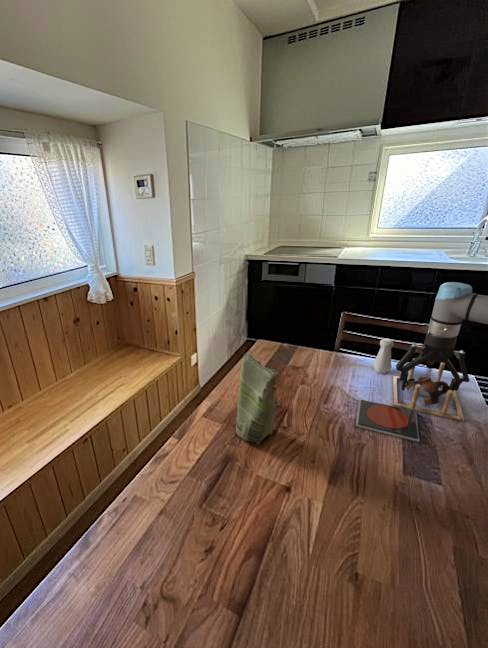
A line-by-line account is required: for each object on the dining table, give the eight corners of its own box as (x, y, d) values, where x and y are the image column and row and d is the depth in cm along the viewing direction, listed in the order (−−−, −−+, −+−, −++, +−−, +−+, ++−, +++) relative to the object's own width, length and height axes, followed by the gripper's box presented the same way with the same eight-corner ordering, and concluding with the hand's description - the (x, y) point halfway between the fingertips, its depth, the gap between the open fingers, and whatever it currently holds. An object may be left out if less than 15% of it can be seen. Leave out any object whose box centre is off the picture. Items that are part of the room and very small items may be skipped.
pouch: (239, 418, 107) (239, 348, 97) (277, 424, 103) (282, 352, 93) (231, 441, 98) (231, 367, 87) (273, 449, 94) (278, 372, 83)
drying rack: (453, 388, 115) (461, 365, 111) (463, 421, 100) (472, 396, 96) (393, 377, 123) (398, 355, 119) (393, 406, 108) (399, 382, 104)
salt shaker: (393, 371, 126) (400, 340, 121) (383, 376, 124) (390, 345, 119) (378, 365, 131) (384, 335, 126) (369, 370, 129) (375, 339, 123)
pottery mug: (416, 408, 107) (409, 383, 108) (404, 403, 116) (398, 380, 117) (458, 400, 104) (450, 375, 105) (443, 396, 114) (436, 372, 114)
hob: (416, 413, 104) (417, 410, 103) (419, 442, 93) (420, 438, 92) (358, 401, 111) (359, 397, 111) (355, 426, 100) (356, 423, 100)
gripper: (396, 332, 104) (383, 390, 113) (496, 345, 93) (473, 408, 102) (395, 323, 110) (383, 379, 119) (490, 335, 99) (468, 395, 108)
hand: (425, 393), depth 111 cm, fingers closed on pottery mug, 12 cm apart
